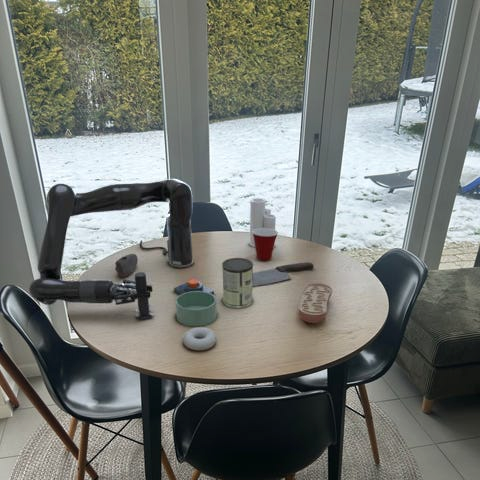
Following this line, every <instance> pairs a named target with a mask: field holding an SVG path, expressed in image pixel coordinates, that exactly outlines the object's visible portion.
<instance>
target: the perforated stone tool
mask: <svg viewBox="0 0 480 480" xmlns="http://www.w3.org/2000/svg"><path fill="white" fill-rule="evenodd" d="M138 261H139V260H138V256H137V254H135V253H129V254H126V255H124V256H122V257H120V258H118V259H117V260H116V261H115V272H116V274H117V276H118V277H120V278H127V277H128V276H129V275H130V274H131V273H132V272H133V271H134V270H135V269H136V267H137V265H138Z"/></svg>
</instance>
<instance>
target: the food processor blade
mask: <svg viewBox="0 0 480 480" xmlns="http://www.w3.org/2000/svg"><path fill="white" fill-rule="evenodd" d="M134 281H135V283H136V289H135V290H136V291H137V292H138V291H147V285H148V284H147V282H148V281H147V275H146V272H142V271H140V272H136V273H134ZM149 301H150V300H149V298H138V299H137V308H134V309H133V310H132V312H135V313H136V314H135V317H137V319H139V320H141V321H142V320H149V319H151V318H152V317H155V316H156V315H157V314H156V313H153V312H152V311H151V310H150V308H151V307H153V304H150V303H149Z"/></svg>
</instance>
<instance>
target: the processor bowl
mask: <svg viewBox="0 0 480 480" xmlns="http://www.w3.org/2000/svg"><path fill="white" fill-rule="evenodd" d="M174 301H175V312H176V314H175V315H176V320H177V322H179V323H180V324H182V325H184V326H187V327H188V326H189V327H203V326H206V325H210V324H212V323H213V322H214V321H215V320H216V319H217V313H218V312H217V310H218V309H217V306H218V305H217V298H216V296H215V294H214V295H213V294H211V293H208V292H204V291H190V292H186V293H183V294H181V295H179V294H178V295H177V296H176V298H175V300H174Z"/></svg>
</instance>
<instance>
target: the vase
mask: <svg viewBox="0 0 480 480" xmlns="http://www.w3.org/2000/svg"><path fill="white" fill-rule="evenodd" d="M249 201H250V203H249V206H250V208H249V246H250V247H253V248H255V242H254V236H253V233H252V230H254V229H259V228H267V229H273V230H276V219H277V217H276V215H275V214H271V212H272V209H271V208H266V199H265V198H262V197H253V198H250V199H249Z"/></svg>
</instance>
